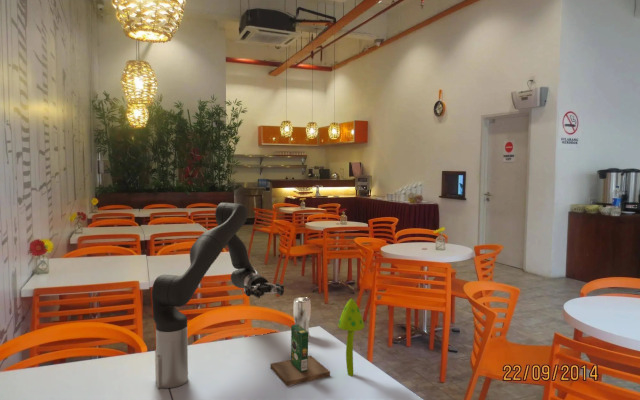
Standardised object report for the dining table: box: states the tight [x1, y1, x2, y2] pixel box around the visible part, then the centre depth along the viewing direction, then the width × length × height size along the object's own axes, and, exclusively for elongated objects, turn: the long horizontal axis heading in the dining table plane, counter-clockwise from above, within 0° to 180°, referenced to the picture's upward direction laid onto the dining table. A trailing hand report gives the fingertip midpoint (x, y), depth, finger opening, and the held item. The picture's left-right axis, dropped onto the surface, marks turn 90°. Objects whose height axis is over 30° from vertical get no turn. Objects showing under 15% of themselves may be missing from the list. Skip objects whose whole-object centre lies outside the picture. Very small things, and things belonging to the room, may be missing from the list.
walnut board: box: [269, 355, 331, 387], centre depth 142 cm, size 15×14×2 cm
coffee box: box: [290, 324, 309, 372], centre depth 142 cm, size 8×3×13 cm, turn 27°
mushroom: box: [337, 298, 365, 377], centre depth 140 cm, size 8×8×25 cm
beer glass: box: [292, 296, 312, 338], centre depth 173 cm, size 7×7×15 cm
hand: (270, 293), depth 155 cm, fingers open, 8 cm apart
